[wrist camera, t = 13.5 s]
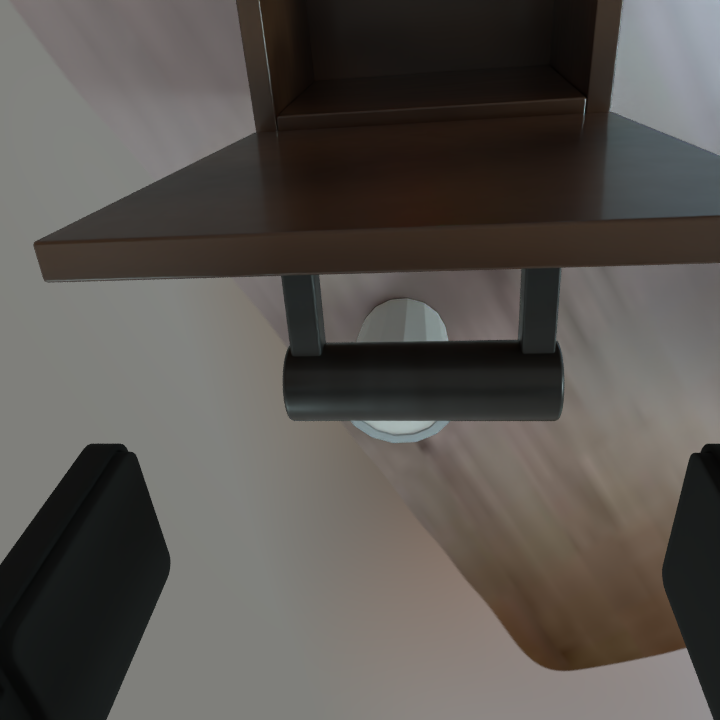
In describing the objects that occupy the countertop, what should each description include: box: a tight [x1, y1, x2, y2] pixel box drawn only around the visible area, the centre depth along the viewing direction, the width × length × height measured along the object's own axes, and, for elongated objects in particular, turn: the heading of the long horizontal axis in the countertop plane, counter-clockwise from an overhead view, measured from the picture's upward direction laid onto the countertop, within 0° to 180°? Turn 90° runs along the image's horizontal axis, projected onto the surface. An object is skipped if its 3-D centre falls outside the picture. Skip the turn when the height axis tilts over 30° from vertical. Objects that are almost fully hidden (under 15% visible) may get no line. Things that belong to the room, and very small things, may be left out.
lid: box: [34, 112, 720, 421], centre depth 19 cm, size 16×14×5 cm
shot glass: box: [351, 298, 450, 443], centre depth 39 cm, size 7×7×7 cm
